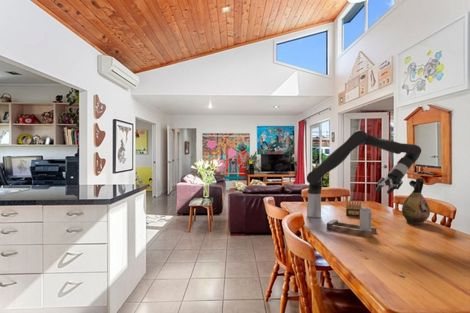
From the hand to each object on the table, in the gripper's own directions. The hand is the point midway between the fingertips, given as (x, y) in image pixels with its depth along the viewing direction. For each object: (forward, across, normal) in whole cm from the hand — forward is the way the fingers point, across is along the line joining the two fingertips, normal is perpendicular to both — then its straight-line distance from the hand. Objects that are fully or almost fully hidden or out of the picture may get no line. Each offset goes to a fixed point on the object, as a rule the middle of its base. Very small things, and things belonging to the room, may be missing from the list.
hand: (382, 192), depth 155 cm
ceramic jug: (-10, -12, +44) cm, 46 cm away
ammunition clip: (+8, -39, +25) cm, 47 cm away
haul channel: (+28, -7, +5) cm, 29 cm away
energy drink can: (+25, 0, +8) cm, 26 cm away
